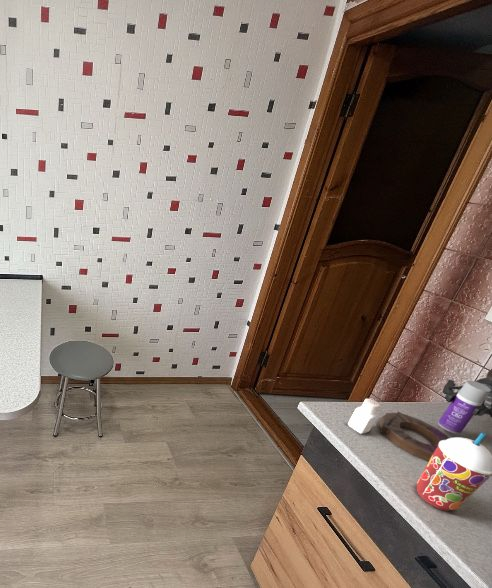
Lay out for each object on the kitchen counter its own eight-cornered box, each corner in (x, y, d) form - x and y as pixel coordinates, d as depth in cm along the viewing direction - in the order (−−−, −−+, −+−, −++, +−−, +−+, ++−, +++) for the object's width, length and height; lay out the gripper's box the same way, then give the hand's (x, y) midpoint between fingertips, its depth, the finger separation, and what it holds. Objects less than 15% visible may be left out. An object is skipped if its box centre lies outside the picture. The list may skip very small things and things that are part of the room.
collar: (459, 448, 90) (464, 441, 89) (445, 473, 82) (450, 466, 81) (389, 412, 101) (393, 406, 100) (371, 431, 93) (375, 424, 92)
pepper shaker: (355, 421, 96) (369, 396, 92) (369, 432, 93) (385, 406, 89) (346, 424, 95) (360, 398, 91) (360, 435, 92) (376, 408, 88)
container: (440, 428, 94) (469, 386, 87) (435, 418, 97) (463, 377, 91) (463, 436, 91) (494, 394, 85) (458, 426, 95) (487, 384, 89)
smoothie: (441, 520, 71) (496, 453, 62) (399, 484, 78) (444, 420, 70) (469, 514, 72) (526, 448, 64) (426, 479, 80) (472, 416, 72)
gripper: (463, 367, 100) (434, 378, 94) (535, 398, 88) (508, 413, 82) (450, 386, 103) (421, 398, 97) (518, 419, 91) (491, 435, 85)
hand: (461, 405), depth 89 cm, fingers closed on container, 4 cm apart
